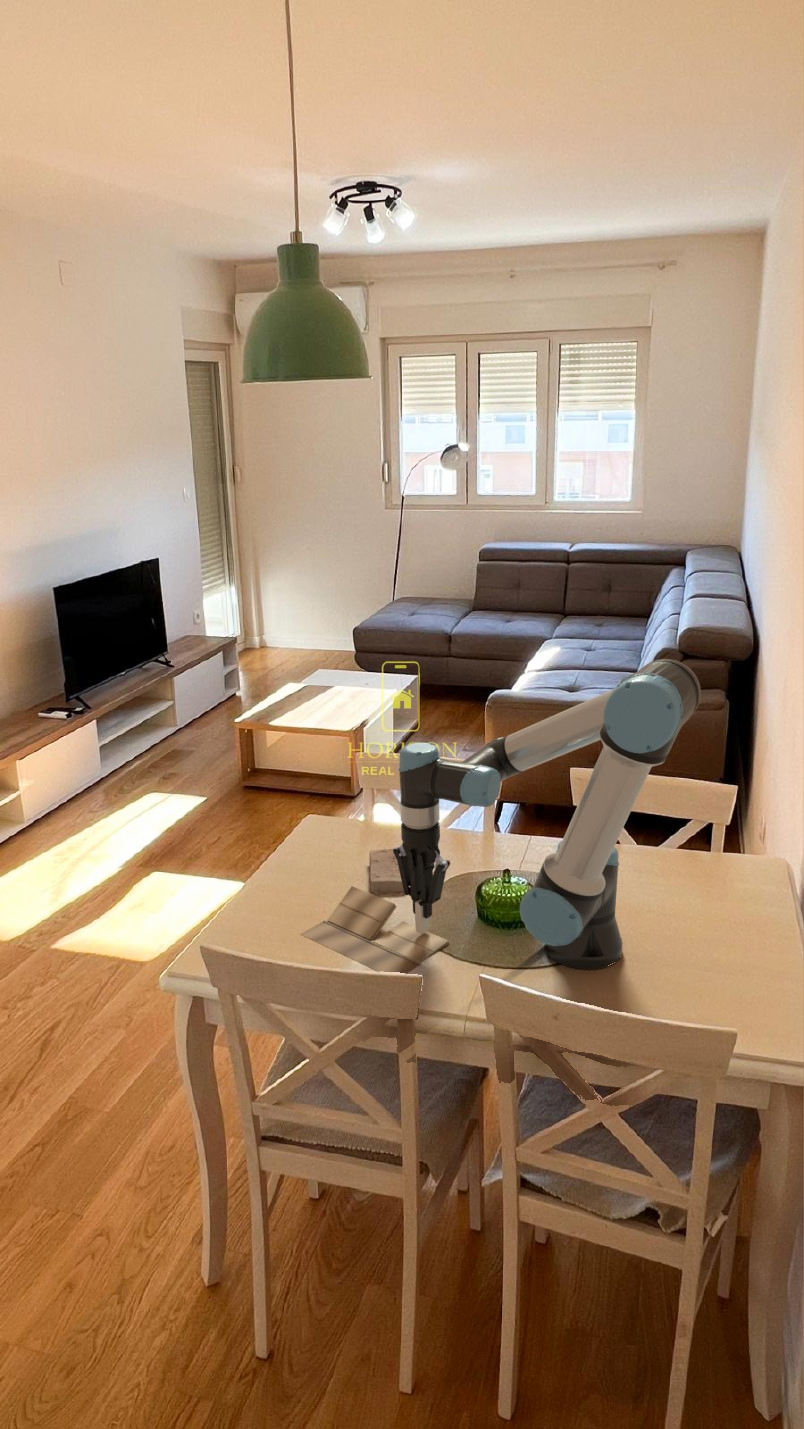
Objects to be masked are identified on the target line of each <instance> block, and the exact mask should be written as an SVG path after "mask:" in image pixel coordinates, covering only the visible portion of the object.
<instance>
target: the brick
mask: <svg viewBox="0 0 804 1429" xmlns="http://www.w3.org/2000/svg"><path fill="white" fill-rule="evenodd" d="M393 849H394V848H383V849H376V850H375V849H372V850H371V849H370V851H369V852H368V853H369V879H370V880H369V883H370V884H369V885H370V892H371V893H373V894H379V893H382V894H383V893H384V894H385V893H386V894H387V893H389V894H390V893H404V889H403V885H402V880H401V876H400V871H399V866H398V862H397V859H396V857H395V855H394V853H393Z"/></svg>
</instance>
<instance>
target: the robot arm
mask: <svg viewBox="0 0 804 1429" xmlns="http://www.w3.org/2000/svg"><path fill="white" fill-rule="evenodd" d="M700 684H701V683H700V681H699V679H698V677H697V675H696V674H695V672H694V671H693V670H692V669H691V668H690V667H689V666H688V665H686V664H684V663H683V662H681V661H678V660H675V659H670V658H662V659H657V660H654V661H651V662H649V663H647V664H645V665H644V666H642V667H641V668H639V670H637V671H636V672H634V673H632V674H630V675H628V676H626V677H623V678H621V679H620V680H619V681H618V684H617V685H616V687H614V688H612V689H611V690H608V691H606V692H603V693H601V694H599V695H596V696H595V697H592V698H590V699H587V700H586V701H583V702H581V703H579V704H576V705H574V706H572V707H570V708H568V709H565V710H563V711H561V712H559V713H556V714H554V715H552V716H548V717H546V718H545V719H542V720H539V721H537V722H536V723H534V724H531V725H529V726H527V727H525V728H522V729H519V730H518V731H516V732H513V733H511V734H509V735H507V736H504V737H503V736H501V737H499V738H495V739H493V740H491V741H489V742H487V743H486V744H485V745H484V746H483V747H481V749H479V750H477V751H476V752H475V753H473V754H472V755H470V756H469V757H467V758H465V759H464V760H463V761H455V760H448V759H445V758H441V757H440V752H439V749H438V746H436V745H434V744H432V743H429V742H412V743H409V744H406V745H405V746H403V747H402V748H401V749H400V751H399V765H398V766H399V768H398V772H399V784H400V786H399V787H400V822H401V824H400V831H401V832H400V834H401V841H402V844H400V845H399V846H397V847H393V848H392V849H393V853H394V855H395V857H396V859H397V862H398V866H399V871H400V876H401V880H402V885H403V889H404V892H403V893H404V895H405V896H409V897H410V899H411V900H412V913H413V914H414V915H415V917H414V918H415V926H416V932H419V933H421V934H422V933H423V932H425V931H428V930H429V929H431V917H432V916H433V904H435V903H437V902H438V901H439V900H441V897H442V892H443V887H444V884H445V878H446V873H447V870H448V869H449V867H450V865H451V861H450V860H449V859H446V860H445V859H444V858H443V857H442V856H441V851H440V848H439V842H440V839H441V828H440V827H441V824H440V800H445V801H450V802H452V803H453V802H454V803H458V804H462V805H467V806H469V807H481V808H488V807H491V806H493V805H494V804H495V803H496V802H497V801H496V800H497V798H498V797H499V795H500V791H501V783H502V782H503V781H505V780H506V779H508V778H511V777H513V776H515V775H516V776H517V775H518V774H521V773H523V772H525V771H527V770H529V769H532V768H534V767H536V766H539V765H541V764H543V763H547V762H549V761H551V760H554V759H556V758H558V757H562V756H564V755H566V754H568V753H571V752H573V751H576V750H578V749H581V748H583V747H587V746H588V745H591V744H593V743H596V742H599V741H601V743H602V745H603V747H602V750H601V751H600V754H599V756H598V759H597V760H596V762H595V765H594V767H593V769H592V772H591V774H590V776H589V778H588V781H587V784H586V786H585V788H584V791H583V793H582V796H581V797H580V799H579V802H578V804H577V807H576V808H575V810H574V813H573V815H572V818H571V820H570V822H569V825H568V827H567V830H566V832H565V834H564V836H563V839H561V840H560V841H559V842H558V844H557V849H556V851H555V852H554V853H550V854H549V855H547V856H546V857H545V859H544V861H543V863H542V865H541V867H540V870H539V872H538V874H537V875H536V876H537V877H536V879H535V881H534V882H533V885H532V886H531V888H530V889H528V890H527V891H526V892H525V893H524V895H523V897H522V899H521V901H520V904H519V914H520V918H521V921H522V922H523V924H524V927H525V928H526V930H527V931H528V932H529V933H530V935H532V936H533V938H535V939H537V940H538V941H540V942H541V943H543V944H544V950H545V952H546V954H547V953H548V954H547V955H548V957H550V958H551V959H552V960H554V961H555V962H557V963H558V962H559V964H560V965H563V966H566V967H569V968H574V969H578V970H599V968H600V969H604V968H603V967H605V968H607V967H606V966H608V965H610V964H612V963H614V962H616V961H617V960H618V959H619V958H620V956H621V957H622V955H623V940H622V939H623V938H622V936H621V932H620V929H619V925H618V922H617V918H616V904H617V892H618V891H617V890H618V889H617V888H618V872H619V866H620V862H619V852H618V850H617V848H616V847H615V846H616V844H617V842H618V840H619V838H620V835H621V833H622V831H623V829H624V827H625V824H626V823H627V821H628V818H629V816H630V813H631V812H632V810H633V808H634V806H635V803H636V802H637V800H638V797H639V794H640V793H641V790H642V788H643V786H644V784H645V782H646V779H647V778H648V776H649V773H650V771H651V769H652V767H656V766H659V765H662V764H663V763H665V761H666V759H667V757H668V755H669V753H670V751H671V749H672V747H673V744H674V743H675V741H676V738H677V736H678V734H679V732H680V730H681V729H682V727H683V726H684V725H685V724H686V723H687V721H688V720H689V719H691V717H692V716H693V715H694V713H696V711H697V709H698V707H699V704H700V701H701V693H702V692H701V691H702V690H701V685H700ZM621 954H622V955H621ZM620 959H621V958H620ZM620 959H619V960H620ZM619 960H618V961H619ZM618 961H617V962H618ZM617 962H616V963H617ZM614 964H615V963H614ZM608 967H609V966H608Z"/></svg>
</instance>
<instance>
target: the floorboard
mask: <svg viewBox="0 0 804 1429" xmlns="http://www.w3.org/2000/svg"><path fill="white" fill-rule="evenodd" d="M299 935H301V936H303V937H305V938H307V939H309V940H311V941H313V942H314V943H318V944H319V945H322V946H323V947H326V948H328V949H330V950H331V951H335V952H337V953H339V954H340V955H343V956H344V957H347V958H349V959H351V960H353V961H355V962H357V963H359V964H361V965H364V966H366V967H368V968H370V969H372V970H374V971H376V972H378V971H384V972H400V973H407V974H409V973H411V972H412V971H413V970H414V969H416V968H418V967H419V966H421V965H422V964H421V963H419V962H417V961H415V960H412V959H410V958H408V957H406V956H404V955H401V954H399V953H397V952H395V951H393V950H390V949H388V948H386V947H384V946H381V945H379V944H377V943H375V942H374V941H371V940H369V939H367V938H365V937H362V936H360V935H358V934H356V933H354V932H351V931H349V930H347V929H345V928H342V927H340V926H338V925H336V924H334V923H331V922H329V921H328V920H322V922H319V923H318V924H316V925H314V926H312V927H311V928H310V927H309V929H307V930H305V931H303V932H301V933H299Z"/></svg>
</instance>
